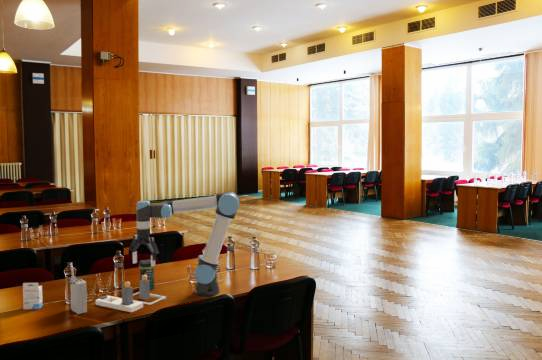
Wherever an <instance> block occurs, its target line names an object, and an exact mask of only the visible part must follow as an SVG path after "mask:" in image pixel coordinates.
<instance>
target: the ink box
mask: <svg viewBox="0 0 542 360" xmlns="http://www.w3.org/2000/svg"><path fill="white" fill-rule="evenodd" d="M22 303H23V304H22V305H23V308H22V309H23V310H40V309H42V307H43V285H39V282H23V283H22Z"/></svg>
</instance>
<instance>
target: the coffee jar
mask: <svg viewBox="0 0 542 360" xmlns="http://www.w3.org/2000/svg"><path fill="white" fill-rule="evenodd" d="M155 267H156V265H155V266H151V259H143V260H139V263H138V269H139V280H138V281H141V280H142V275H147V280H150V291H151V290H155V289H156V284H155V283H156V282H155V272H154V271H155Z"/></svg>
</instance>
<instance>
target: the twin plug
mask: <svg viewBox="0 0 542 360" xmlns="http://www.w3.org/2000/svg"><path fill="white" fill-rule="evenodd" d="M123 283H124V284H123V285H124V287H121V298H122V304H123V305H127V306H128V305H130V304H133V300H134V296H133V294H134V287H132V286H131V281H124V282H123Z"/></svg>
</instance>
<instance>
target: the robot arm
mask: <svg viewBox="0 0 542 360" xmlns="http://www.w3.org/2000/svg"><path fill="white" fill-rule="evenodd" d="M240 202H241V201H240V197H239V196H238V194H237V193H236V192H234V191H226V192H225V191H224V192H221V193H216V194H214V195H211V196H202V197H195V198H187V199H180V200H177V199H176V200H171V201H168V200H165V201H162V202H161V203H159V204H151V202H150V201H149V200H139V201H137V202H136V209H135V210H136V234H135V235H133V236H132V241H131V242H130V244H129V245H130V246H129V249H128V250H129V252H131V258H132V264H137V263H138V251H137V250H138V248H139V247H140V245H145V246H146V247H147V248H148V250H149V252H150V254H151V255H150V260H151V266H155V267H156V260H157V255H158V254H160V251H159V249H158V246H157V243H156V241H155V237H154V236H153V237H150V235H151V228H150V227H151V219H154V218H155V219H169V218H171V217H172V214H181V213H188V212H196V211H204V210H212V209H213V210H215V213H214V214H215V216H216V217H215V219H214V222H213V226H212V229H211V231H210V235H209V237H208V239H207V243H206V246H205V249H204V252H203V254H199V255H197V256H198V257H197V264H196V266H195V269H194V278H195V280H196V285H195V288H194V293H195V294H196V295H197V296H204V297H210V296H216V295H218V294H220V292H221V287H220V285H219V281H218V268H219V264H220V261H219V256H220V253H221V250H222V247H223V245H224V242H225V238H226V236H227V233H228V230H229V228H230V224H231V221H234V220H235V217H236V215H237V212H238V210H239V209H240V208H239V207H240Z"/></svg>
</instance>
